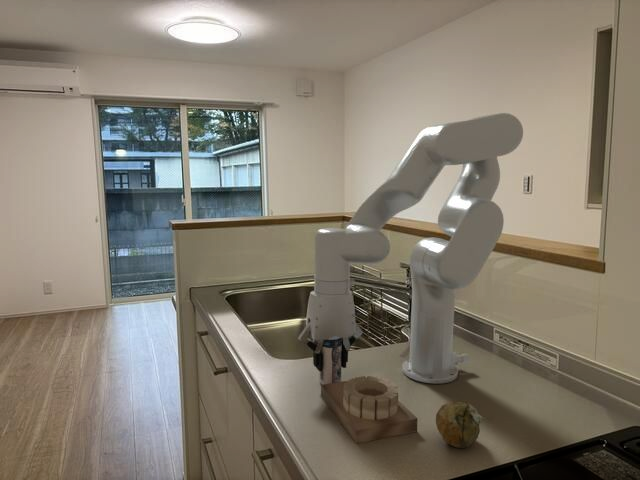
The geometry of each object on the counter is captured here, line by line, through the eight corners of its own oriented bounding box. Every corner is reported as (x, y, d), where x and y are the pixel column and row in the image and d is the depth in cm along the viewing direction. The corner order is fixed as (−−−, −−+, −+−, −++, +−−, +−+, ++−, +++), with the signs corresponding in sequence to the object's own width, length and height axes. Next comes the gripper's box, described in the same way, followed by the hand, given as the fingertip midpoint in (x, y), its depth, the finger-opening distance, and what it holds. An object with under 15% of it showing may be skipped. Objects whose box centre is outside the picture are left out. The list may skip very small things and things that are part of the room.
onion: (477, 432, 86) (480, 390, 84) (482, 458, 78) (485, 412, 77) (434, 426, 87) (436, 385, 86) (434, 451, 80) (437, 407, 78)
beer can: (339, 389, 101) (340, 335, 100) (317, 387, 102) (318, 333, 101) (342, 379, 106) (343, 328, 104) (321, 377, 107) (322, 326, 105)
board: (373, 387, 102) (373, 361, 101) (416, 431, 86) (418, 400, 85) (320, 396, 98) (321, 368, 97) (356, 443, 82) (356, 410, 81)
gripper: (360, 279, 107) (358, 356, 110) (288, 285, 102) (288, 365, 104) (375, 287, 100) (373, 369, 103) (299, 293, 95) (298, 379, 97)
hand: (330, 366), depth 104 cm, fingers closed on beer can, 4 cm apart
